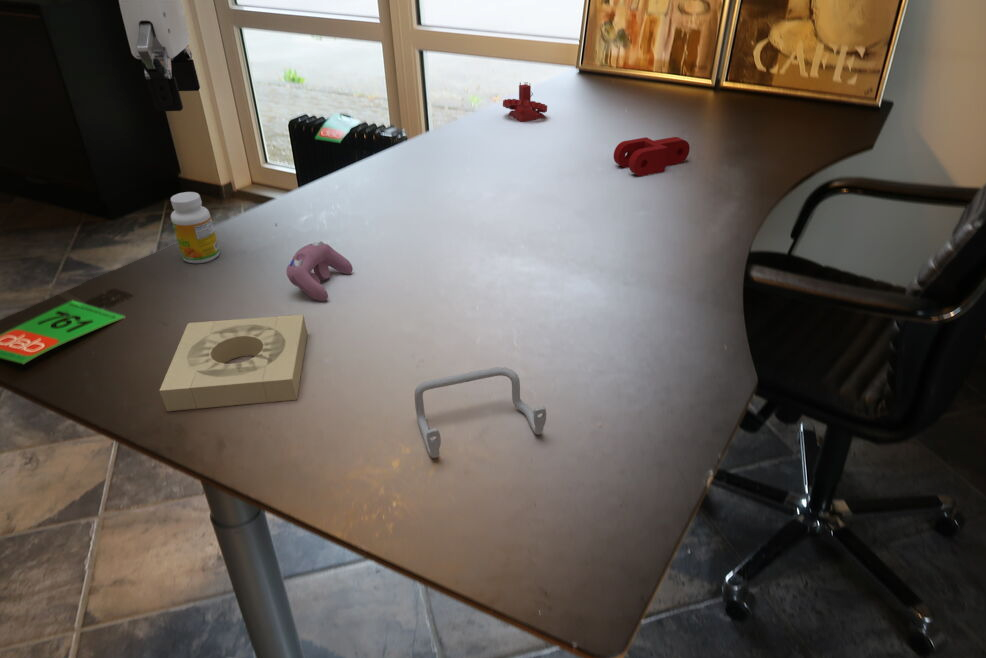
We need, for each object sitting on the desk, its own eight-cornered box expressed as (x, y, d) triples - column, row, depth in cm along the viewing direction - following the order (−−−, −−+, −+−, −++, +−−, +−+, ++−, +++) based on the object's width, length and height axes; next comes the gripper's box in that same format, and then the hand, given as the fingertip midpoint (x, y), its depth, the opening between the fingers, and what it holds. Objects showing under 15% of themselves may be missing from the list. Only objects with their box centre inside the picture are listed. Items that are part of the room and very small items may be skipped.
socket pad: (166, 411, 78) (159, 390, 77) (194, 342, 90) (187, 322, 88) (296, 399, 81) (292, 378, 79) (307, 334, 92) (303, 314, 90)
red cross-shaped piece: (552, 112, 176) (553, 77, 172) (541, 126, 167) (542, 89, 162) (511, 108, 178) (511, 74, 173) (497, 122, 169) (497, 86, 164)
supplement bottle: (175, 257, 108) (157, 198, 103) (206, 245, 112) (190, 187, 107) (196, 267, 106) (178, 207, 100) (227, 254, 110) (212, 195, 104)
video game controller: (334, 278, 107) (308, 238, 104) (357, 269, 106) (331, 228, 102) (303, 310, 99) (274, 268, 96) (328, 301, 98) (299, 258, 95)
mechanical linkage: (632, 178, 140) (635, 153, 137) (612, 166, 145) (614, 142, 143) (695, 165, 147) (698, 141, 144) (673, 155, 152) (676, 132, 149)
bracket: (429, 466, 73) (426, 431, 69) (414, 416, 78) (410, 382, 75) (546, 439, 76) (548, 405, 73) (523, 393, 82) (523, 359, 79)
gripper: (128, -55, 90) (166, 84, 100) (80, -40, 76) (129, 120, 86) (190, -55, 91) (221, 83, 101) (153, -39, 78) (194, 118, 87)
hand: (179, 100), depth 94 cm, fingers open, 9 cm apart
